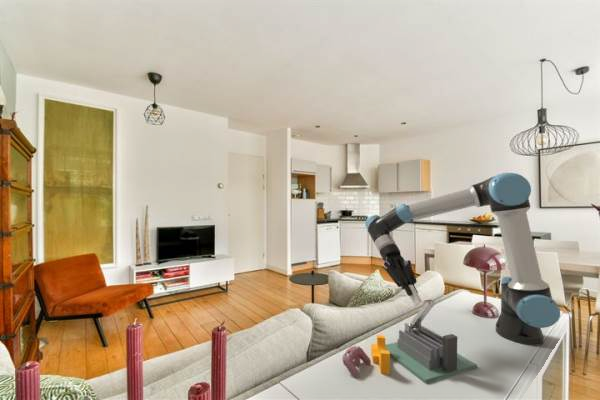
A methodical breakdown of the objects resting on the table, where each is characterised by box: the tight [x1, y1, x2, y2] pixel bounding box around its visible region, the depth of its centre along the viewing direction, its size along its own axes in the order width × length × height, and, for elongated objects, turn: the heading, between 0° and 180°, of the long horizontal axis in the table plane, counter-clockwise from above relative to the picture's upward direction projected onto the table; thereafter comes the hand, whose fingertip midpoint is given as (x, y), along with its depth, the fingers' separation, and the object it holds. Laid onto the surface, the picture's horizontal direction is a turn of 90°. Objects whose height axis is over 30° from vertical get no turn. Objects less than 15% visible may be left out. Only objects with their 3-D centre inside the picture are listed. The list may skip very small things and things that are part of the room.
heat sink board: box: [385, 322, 478, 384], centre depth 95 cm, size 22×20×11 cm
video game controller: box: [342, 345, 372, 378], centre depth 89 cm, size 10×5×7 cm, turn 141°
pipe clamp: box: [370, 334, 391, 375], centre depth 92 cm, size 12×4×6 cm, turn 171°
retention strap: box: [409, 299, 436, 329], centre depth 97 cm, size 3×14×2 cm
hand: (418, 303), depth 98 cm, fingers closed
